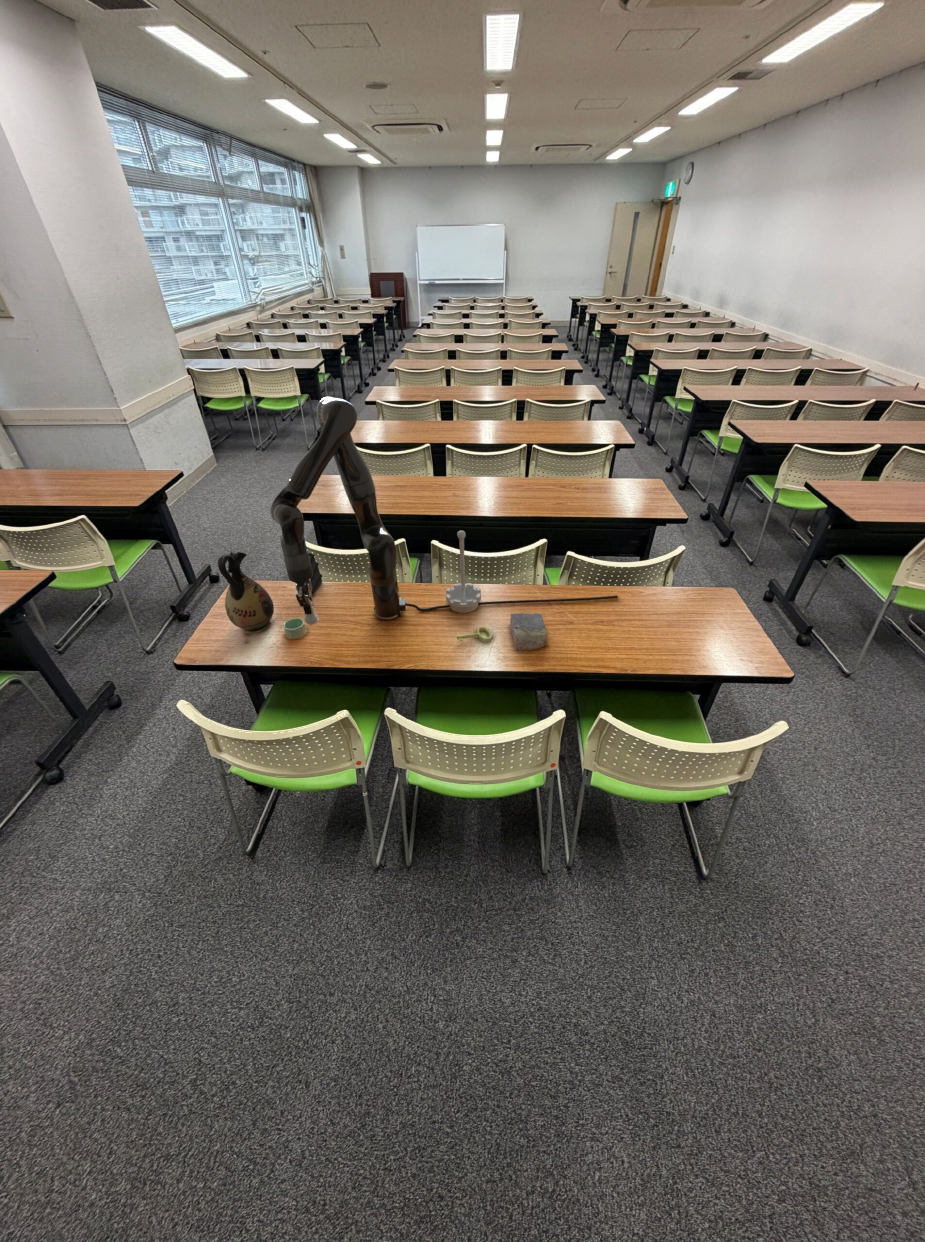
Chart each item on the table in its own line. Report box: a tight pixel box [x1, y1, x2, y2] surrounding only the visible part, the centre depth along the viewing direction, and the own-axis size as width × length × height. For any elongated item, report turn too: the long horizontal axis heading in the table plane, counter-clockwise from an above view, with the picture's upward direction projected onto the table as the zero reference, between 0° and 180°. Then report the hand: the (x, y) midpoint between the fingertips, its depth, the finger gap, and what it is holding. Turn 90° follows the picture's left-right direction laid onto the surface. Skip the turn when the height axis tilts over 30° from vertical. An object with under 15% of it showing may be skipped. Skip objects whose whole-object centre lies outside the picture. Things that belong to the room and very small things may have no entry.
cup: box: [283, 617, 307, 640], centre depth 178 cm, size 7×7×4 cm
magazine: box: [308, 552, 323, 597], centre depth 199 cm, size 4×13×15 cm, turn 173°
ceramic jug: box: [217, 551, 275, 635], centre depth 174 cm, size 17×15×30 cm
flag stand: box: [445, 530, 482, 614], centre depth 182 cm, size 13×13×30 cm
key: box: [456, 626, 493, 643], centre depth 173 cm, size 7×12×2 cm, turn 126°
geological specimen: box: [509, 612, 548, 652], centre depth 173 cm, size 11×6×15 cm
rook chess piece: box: [304, 599, 320, 626], centre depth 168 cm, size 4×4×8 cm
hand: (309, 610), depth 167 cm, fingers closed on rook chess piece, 3 cm apart
